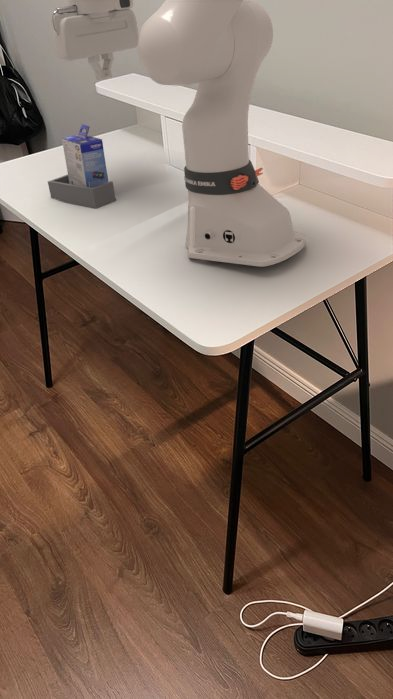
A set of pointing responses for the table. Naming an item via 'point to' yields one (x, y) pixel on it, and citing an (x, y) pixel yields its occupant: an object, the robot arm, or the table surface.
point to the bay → (81, 193)
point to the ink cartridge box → (85, 159)
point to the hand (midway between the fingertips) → (104, 78)
